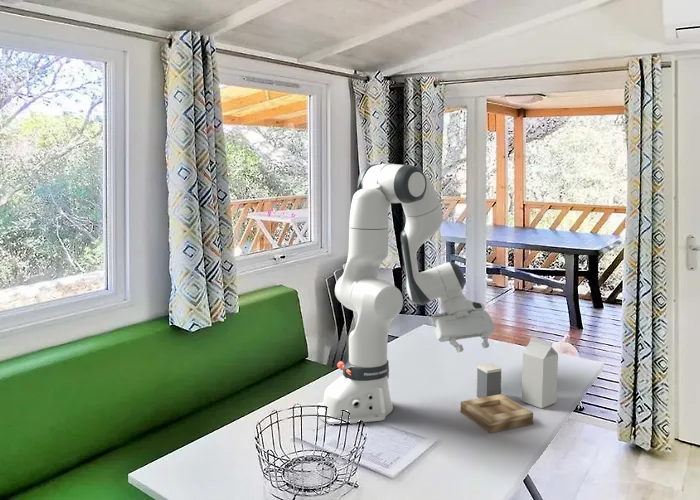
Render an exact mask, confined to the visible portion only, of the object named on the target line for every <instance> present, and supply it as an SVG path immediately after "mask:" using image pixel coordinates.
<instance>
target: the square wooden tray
mask: <svg viewBox="0 0 700 500" xmlns="http://www.w3.org/2000/svg"><path fill="white" fill-rule="evenodd" d="M460 413H461V414H462V415H463V416H466V418H468V419H469V420H471V421H472V422H473V423H474V424H476V425H478V426H479V427H480V428H482V429H483V430H484V431H486V432H487V433H489V434H492V433H497V432H501V431H506V430H510V429H515V428H520V427H525V426H529V425H533V424H534V411H532V410H530V409H528V408H526V407H524V406H523V405H521V404H519V403H518V402H516V401H514V400H513V399H511V398H509V397H508V396H506V395H505V394H502V393H501V394H499V395H493V396H488V397H483V398H478V397H476V398H473V399H467V400H463V401H462V400H461V401H460Z"/></svg>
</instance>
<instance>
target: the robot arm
mask: <svg viewBox="0 0 700 500" xmlns="http://www.w3.org/2000/svg"><path fill="white" fill-rule="evenodd" d="M357 179H358V180H357V191H356V192H354V194H353V196H352V199H351V204H350V212H349V220H348V252H347V258H346V259H347V260H346V263H345V266H344V271H343V273H342V275H341V276H339V278H338V280H337V281H336V283H335V287H334V295H335V297H336V299H337V300H338V302H339V303H341V305H343V306H344V307H345V308H346V309H348V310H351V311H353V312H355V313H356V314H357V319H356V323H355V328H354V329H353V330H352V331H351V332H350V333H349V336H348V360H347V362H346V363H344V362H343V361H341V360H340V361H338V363H337V364H336V366H337V368H338V369H339V370H341V371H342V374H341V375H340V376H339V377H338V378H336V379H335V381H333V382H331V384H329V386H327V387H326V388H325V390H324V392H323V393H324V394H323V399H322V400H323V401H322V402H318V403H317V404H316V405H325V406H327V407H328V408H327V415H328V416H332V417H335V418H339V419H340V418H341V413H342V411H341V410H348V411H349V412H350V415H349V417H350V418H349V421H350V424H357V422H358V421H359V420H360V419H361V420H362V421H363V422H362V423H369V422H380V421H384V420H385V419H386V417H387V416H388V415H389V414H391V412H392V411H393V409H394V406H393V402H392V399H391V394H390V387H389V378H390V377H389V376H390V365H389V363H390V362H389V360H388V338H389V337H388V336H389V331H390V328H391V324H392V322H393V320H394V319H395V318H396V317H397V316H398V315H399V314H400V312H401V311H402V310H403V305H404V298H403V294H402V292H401V290H400V289H399V288H397V286H396V285H394V284H392V283H391V282H389V281H387V280H384V279H381V278H378V274H379V270H380V266H381V264H382V263H383V261H385V260H386V259H387V257H388V254H389V227H390V225H389V208H390V206H391V204H401V206H402V209H403V213H404V216H405V224H404V225H405V226H404V228H403V230H401V232H400V245H401V253H402V259H403V264H404V272H405V278H406V280H405V281H406V293H407V296H408V298H409V299H410V300H411V302H412V303H414V304H417V305H420V306H424V305H426V304H428V303H430V302H432V301H434V300H438V302H439V304H440V309H441V312H442V313H435V314H433V315H431V317H430V322H431V325H432V326H433V330H434V333H435V337H436V339H437V341H439V342H440V343H444V342H445V343H446V342H449V344H450V345H451V346H453V348H455V350H456V352H457V353H462V352H463V351H464V347H463V344H460V343H459V342H457V340H458V341H459V340H463V339H464V340H465V339H471V338H478V337H480V338H481V340H483V341H482V342H481V347H482V349H488V348H489V347H490V343H489V341H488V340H489V336H491V335H492V334H493V333H494V332H495V330H496V325H495V322H494V321H493V318H492V317H491V315H490V313H488V312H487V311H486V310H485V307H486V306H485V305H484V304H483V303H482V302H476V301H474V300H473V301H472V300H469V299H467V297H466V296H465V295H464V294H463V290H464V288H465V285H466V282H467V281H466V278H465V276H464V275H463V273H462V271H461V268H460V266H459V264H457V263H454V262H453V261H449V262H445V263H441V264H440V265H436V266H435V267H431V268H429V269H426V270H424V271H421V272H419V265H418V260H417V252H418V250H419V249H420V247H421V246H422V245H423V244H424V243H426V241H428V240H429V239H430V238H431V237H433V236H434V235H435V234H436V233H437V232H438V230H440V228H441V226H442V224H443V223H442V222H443V220H444V214H443V210H442V205H441V203H440V199H439V196H438V194H437V191H436V189H435V186H434V185H433V183H432V181H431V180H430V178H429V176H427V174H426V173H424V172H423V171H422V169H420V168H419V167H417V166H416V165H411V164H405V165H404V164H396V163H381V164H375V163H374V164H371V165H368V166H365V167H364V168H363V169H362V170H361V171H360V173H359V176H358V178H357ZM325 411H326V410H325V408H319V409H318V413H319V415H325ZM315 413H317V409H316V408H315ZM318 418H319V419H320V420H321V421H322V422H325V418H324V417H318ZM342 418H343V420H346V421H347V420H348V413H347V412H345V411H343V417H342ZM339 422H340V421H338V420H335V419H332V418H327V423H326V422H325V423H326V424H328V425H331V424H332V426H335V425H334V424H339Z"/></svg>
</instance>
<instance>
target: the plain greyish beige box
mask: <svg viewBox="0 0 700 500" xmlns="http://www.w3.org/2000/svg"><path fill="white" fill-rule="evenodd" d="M476 370H477V375H476V398H483V397H488V396H493V395H499V394H502V393H501V392H502V367H500V366H498V365H496V364H494V363H492V362H490V363H484V364H478V365H477V369H476Z"/></svg>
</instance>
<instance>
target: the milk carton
mask: <svg viewBox="0 0 700 500" xmlns="http://www.w3.org/2000/svg"><path fill="white" fill-rule="evenodd" d="M552 344H553V343H552V342H549V341H546V340H542V339H538V338H536V337H535V338H534V337H530V341H529V343H528V344H527V345H526V347H525V349H524V350H523V352H522V369H521V370H522V372H521V375H522V376H521V401H522V402H524V403H525V404H529V405H532V406H534V407H536V408H538V409H544V408H546V407H549V406H551V405H553V404H555V403H557V394H558V393H557V390H558V387H557V386H558V370H559V369H558V368H559V352H557V351H556V350H555V349H554V347H553V346H552Z"/></svg>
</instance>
